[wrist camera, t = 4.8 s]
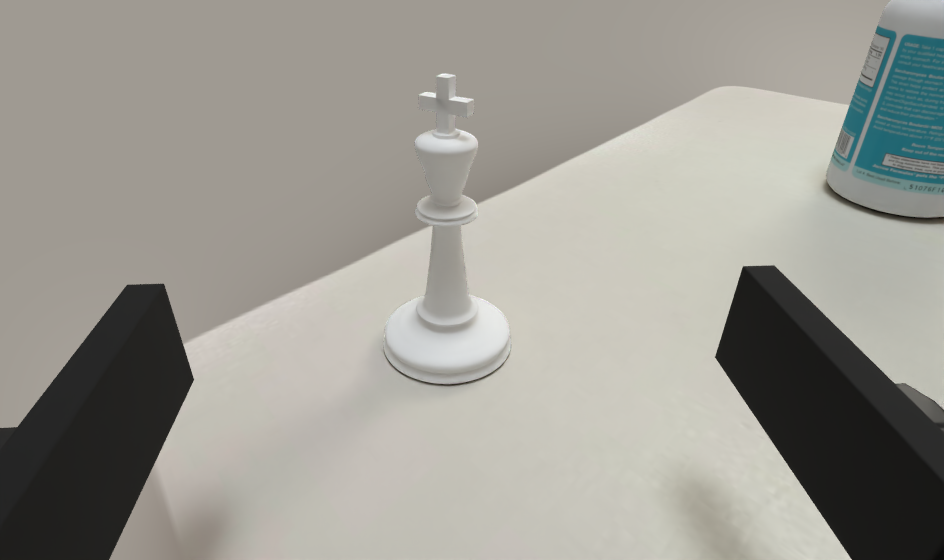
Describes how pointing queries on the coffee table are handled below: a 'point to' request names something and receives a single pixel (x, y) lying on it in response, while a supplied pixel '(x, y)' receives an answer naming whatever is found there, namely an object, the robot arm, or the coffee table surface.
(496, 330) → the chess piece
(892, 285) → the coffee table surface
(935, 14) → the pill bottle
